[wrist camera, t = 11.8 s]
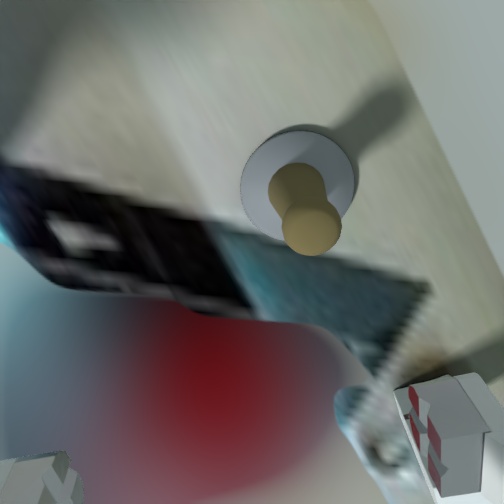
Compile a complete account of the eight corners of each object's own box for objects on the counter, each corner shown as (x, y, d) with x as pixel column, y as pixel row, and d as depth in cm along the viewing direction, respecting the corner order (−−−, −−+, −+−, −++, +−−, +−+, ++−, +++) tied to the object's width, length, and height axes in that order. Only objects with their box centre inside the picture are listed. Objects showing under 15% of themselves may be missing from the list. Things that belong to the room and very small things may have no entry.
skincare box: (448, 372, 63) (509, 467, 50) (455, 402, 66) (514, 500, 52) (388, 390, 64) (433, 489, 51) (397, 420, 67) (442, 520, 53)
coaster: (251, 247, 52) (252, 250, 52) (229, 143, 47) (229, 145, 46) (356, 226, 52) (358, 229, 51) (347, 119, 47) (349, 121, 46)
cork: (276, 156, 47) (291, 193, 37) (332, 170, 48) (361, 210, 38) (261, 210, 50) (270, 258, 40) (314, 222, 51) (336, 272, 41)
